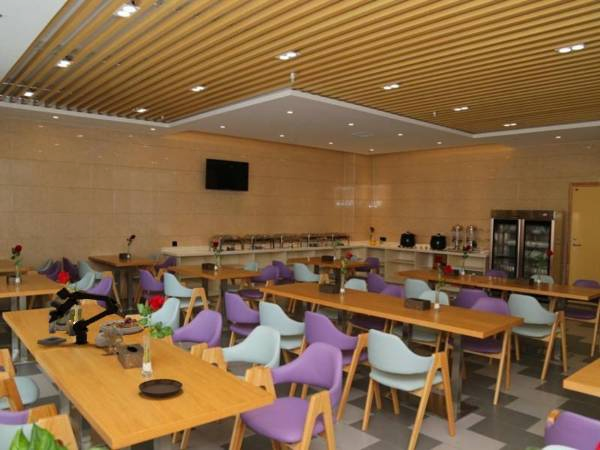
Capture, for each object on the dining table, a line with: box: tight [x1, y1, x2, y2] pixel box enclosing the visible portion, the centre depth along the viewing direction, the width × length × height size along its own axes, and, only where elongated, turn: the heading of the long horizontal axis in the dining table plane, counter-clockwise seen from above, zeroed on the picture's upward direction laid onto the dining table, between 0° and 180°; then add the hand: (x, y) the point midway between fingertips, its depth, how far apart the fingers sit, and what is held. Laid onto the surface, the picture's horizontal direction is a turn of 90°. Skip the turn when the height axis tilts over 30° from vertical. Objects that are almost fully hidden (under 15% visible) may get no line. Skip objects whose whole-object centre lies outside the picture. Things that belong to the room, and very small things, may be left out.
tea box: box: [55, 306, 83, 332], centre depth 369 cm, size 15×10×15 cm, turn 143°
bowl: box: [99, 316, 143, 335], centre depth 367 cm, size 30×30×8 cm
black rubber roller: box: [69, 324, 76, 337], centre depth 349 cm, size 4×4×7 cm
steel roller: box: [48, 314, 57, 335], centre depth 328 cm, size 4×4×12 cm
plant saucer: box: [138, 378, 183, 398], centre depth 246 cm, size 21×21×3 cm
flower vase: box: [94, 324, 124, 355], centre depth 316 cm, size 13×18×25 cm
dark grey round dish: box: [36, 335, 67, 347], centre depth 328 cm, size 12×12×2 cm
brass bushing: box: [65, 320, 73, 335], centre depth 355 cm, size 4×4×9 cm
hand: (50, 322), depth 328 cm, fingers closed on steel roller, 4 cm apart
